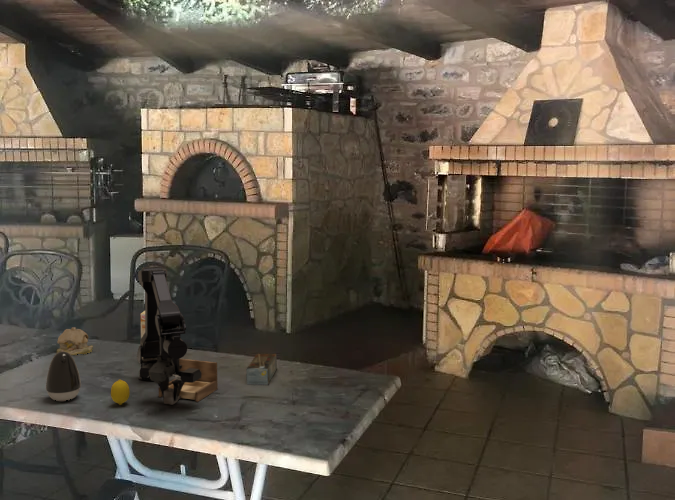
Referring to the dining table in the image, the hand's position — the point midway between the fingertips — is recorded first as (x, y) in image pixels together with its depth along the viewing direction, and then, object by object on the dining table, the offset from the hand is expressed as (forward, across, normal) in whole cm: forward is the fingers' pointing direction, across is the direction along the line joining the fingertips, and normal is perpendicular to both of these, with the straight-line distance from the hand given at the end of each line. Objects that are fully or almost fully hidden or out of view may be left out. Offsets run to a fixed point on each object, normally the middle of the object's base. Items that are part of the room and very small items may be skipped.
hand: (170, 400), depth 207 cm
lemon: (+1, -14, -6) cm, 15 cm away
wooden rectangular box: (+2, +15, +35) cm, 38 cm away
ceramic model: (+2, -68, +40) cm, 78 cm away
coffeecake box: (+2, -31, +40) cm, 51 cm away
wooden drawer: (+1, 0, +7) cm, 7 cm away
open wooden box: (+1, 0, +10) cm, 10 cm away
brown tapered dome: (+1, -34, -7) cm, 35 cm away
